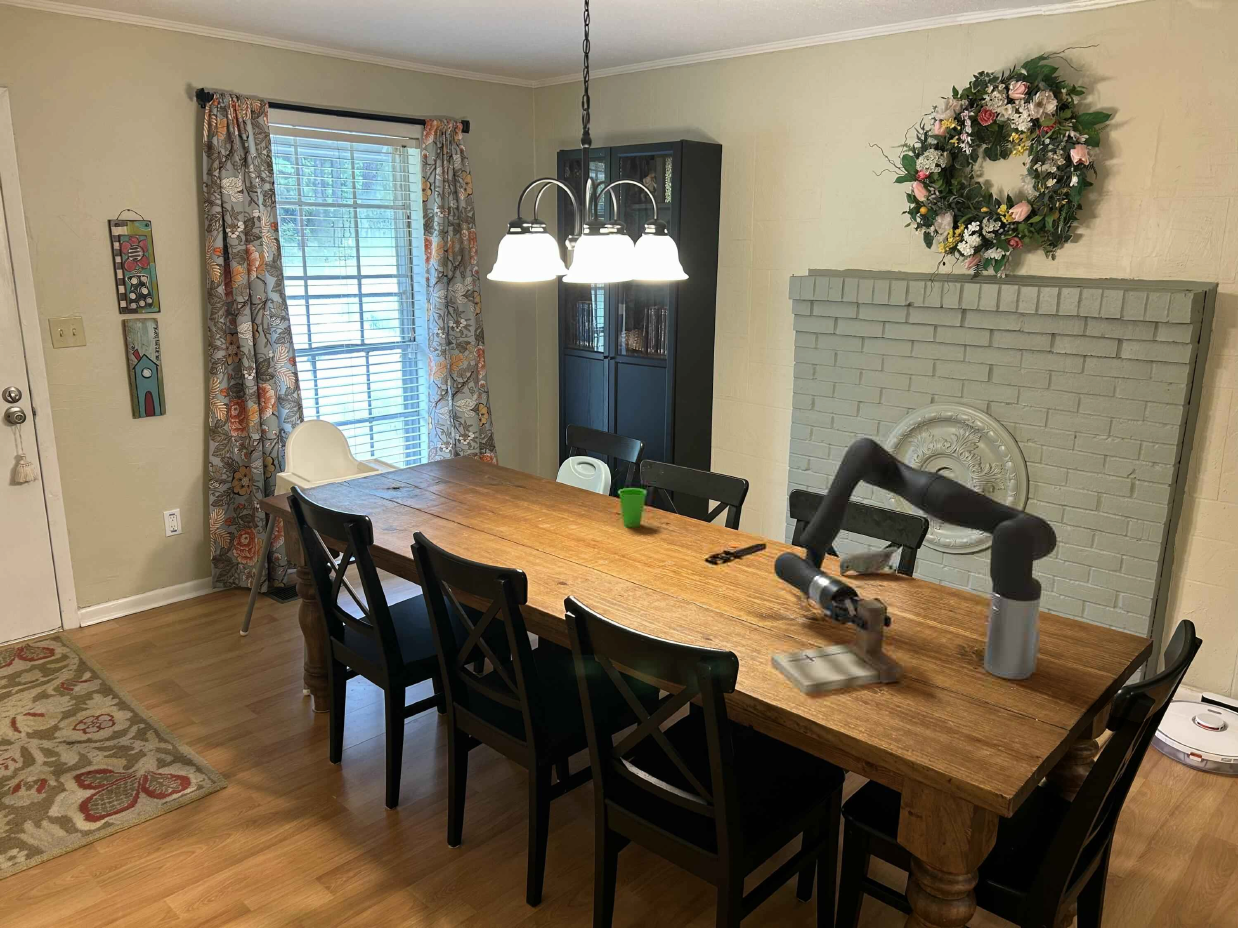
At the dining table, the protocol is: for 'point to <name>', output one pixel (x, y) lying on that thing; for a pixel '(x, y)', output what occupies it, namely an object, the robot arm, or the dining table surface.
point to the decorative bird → (868, 561)
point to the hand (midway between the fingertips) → (877, 624)
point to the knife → (734, 553)
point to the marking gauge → (875, 641)
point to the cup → (632, 505)
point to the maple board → (825, 668)
